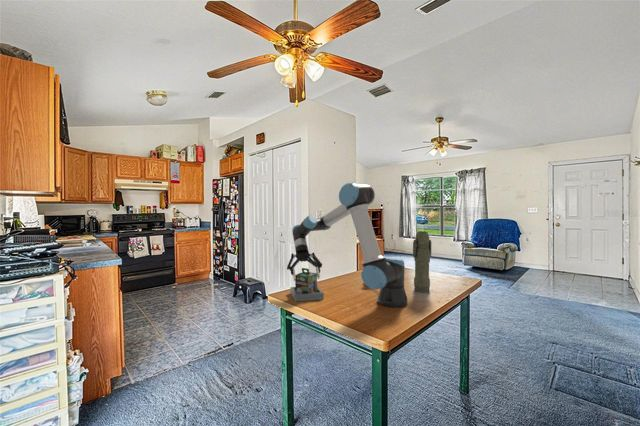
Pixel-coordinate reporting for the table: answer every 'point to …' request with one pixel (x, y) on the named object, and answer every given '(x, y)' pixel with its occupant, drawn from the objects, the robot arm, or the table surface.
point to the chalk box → (306, 282)
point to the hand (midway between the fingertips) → (307, 278)
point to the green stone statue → (422, 261)
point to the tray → (307, 295)
